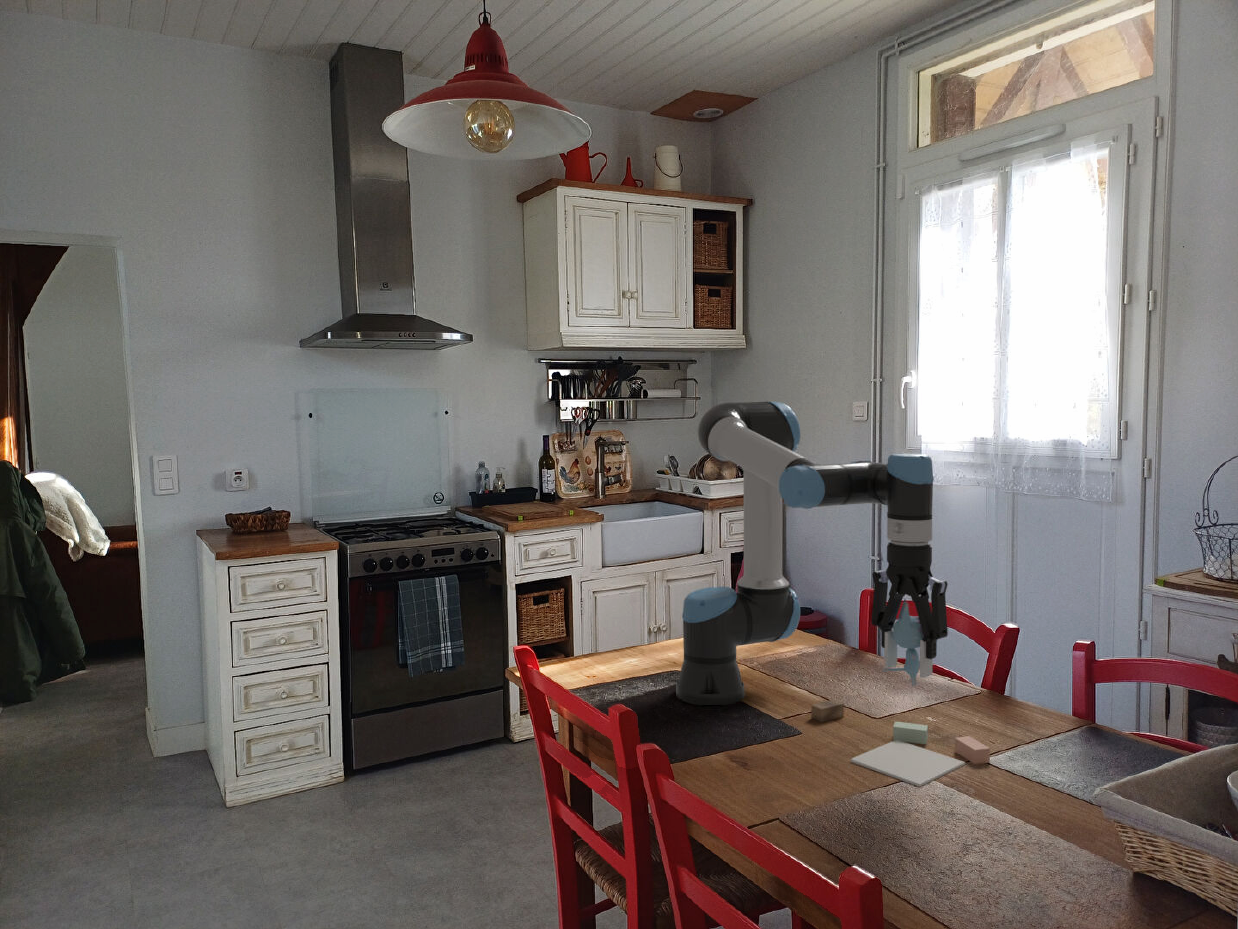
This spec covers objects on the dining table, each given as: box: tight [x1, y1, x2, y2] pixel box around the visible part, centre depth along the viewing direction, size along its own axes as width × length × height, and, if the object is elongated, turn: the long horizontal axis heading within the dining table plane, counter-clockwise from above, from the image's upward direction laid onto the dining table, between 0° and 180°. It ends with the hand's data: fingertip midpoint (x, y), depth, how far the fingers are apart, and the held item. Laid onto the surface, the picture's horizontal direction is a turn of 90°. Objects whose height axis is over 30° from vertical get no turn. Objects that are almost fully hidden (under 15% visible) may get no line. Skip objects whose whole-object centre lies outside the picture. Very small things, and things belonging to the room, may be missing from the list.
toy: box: [881, 598, 924, 686], centre depth 159 cm, size 7×6×15 cm
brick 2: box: [892, 721, 929, 745], centre depth 171 cm, size 6×3×3 cm, turn 67°
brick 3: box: [954, 735, 991, 765], centre depth 162 cm, size 6×3×3 cm, turn 13°
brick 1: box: [811, 699, 845, 723], centre depth 184 cm, size 6×3×3 cm, turn 120°
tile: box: [850, 740, 966, 787], centre depth 160 cm, size 14×14×1 cm
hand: (908, 671), depth 159 cm, fingers closed on toy, 6 cm apart
